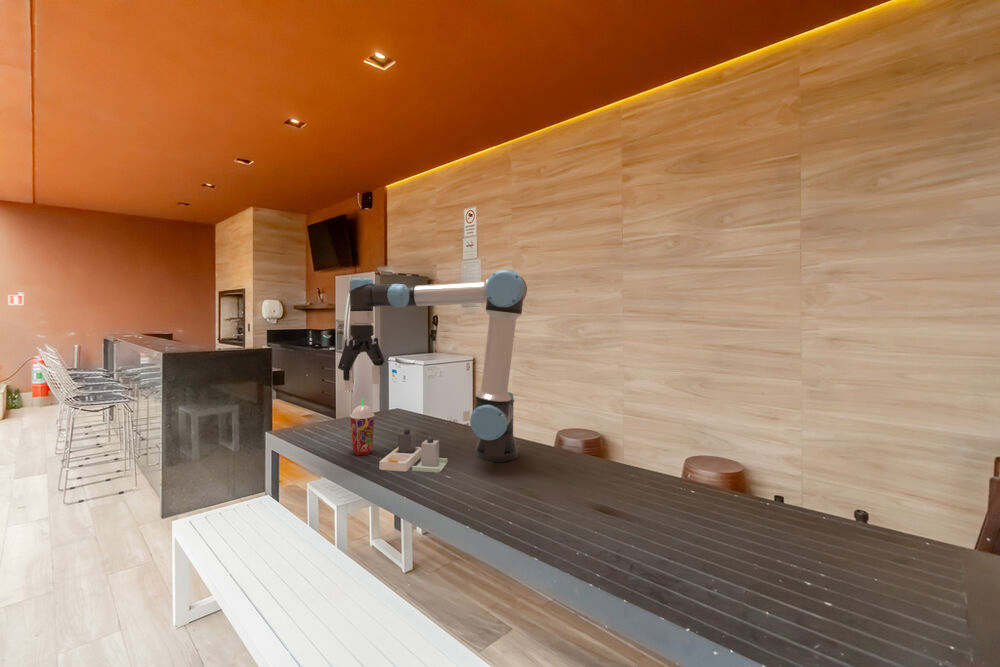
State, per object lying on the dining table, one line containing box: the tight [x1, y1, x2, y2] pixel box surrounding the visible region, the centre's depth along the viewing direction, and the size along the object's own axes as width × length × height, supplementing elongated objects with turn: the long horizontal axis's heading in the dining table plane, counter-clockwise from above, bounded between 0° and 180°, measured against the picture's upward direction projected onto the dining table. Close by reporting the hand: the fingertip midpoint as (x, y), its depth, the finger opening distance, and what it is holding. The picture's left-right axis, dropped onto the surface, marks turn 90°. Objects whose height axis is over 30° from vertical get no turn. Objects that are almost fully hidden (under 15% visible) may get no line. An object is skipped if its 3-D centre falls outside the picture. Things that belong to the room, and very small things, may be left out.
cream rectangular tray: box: [378, 427, 422, 472], centre depth 151 cm, size 9×17×10 cm, turn 171°
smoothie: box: [349, 397, 375, 456], centre depth 161 cm, size 8×8×20 cm
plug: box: [421, 436, 440, 467], centre depth 147 cm, size 4×4×10 cm
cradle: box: [411, 457, 449, 473], centre depth 147 cm, size 9×10×2 cm
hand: (362, 387), depth 151 cm, fingers open, 13 cm apart
